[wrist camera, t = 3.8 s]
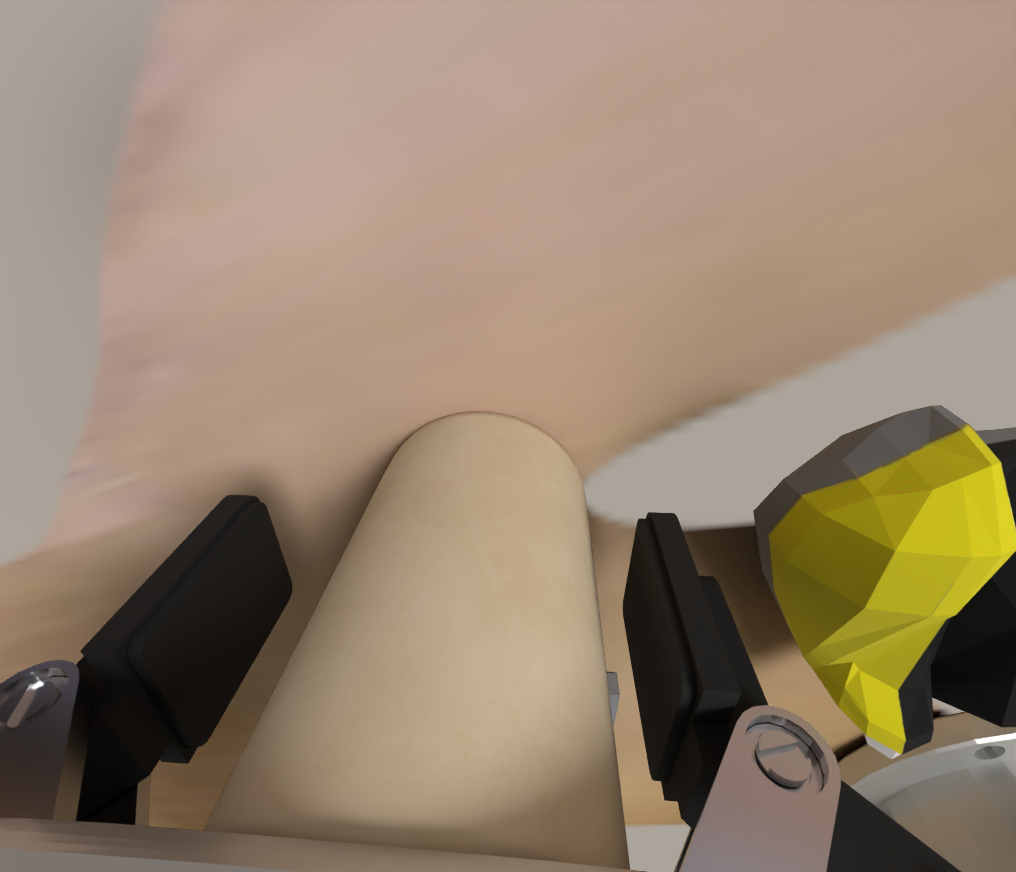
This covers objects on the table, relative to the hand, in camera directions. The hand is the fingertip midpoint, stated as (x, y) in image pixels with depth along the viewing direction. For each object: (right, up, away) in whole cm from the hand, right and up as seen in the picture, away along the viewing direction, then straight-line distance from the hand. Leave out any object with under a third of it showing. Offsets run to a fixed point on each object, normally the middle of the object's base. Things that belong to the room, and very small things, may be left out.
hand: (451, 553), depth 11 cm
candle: (+1, +1, +3) cm, 3 cm away
